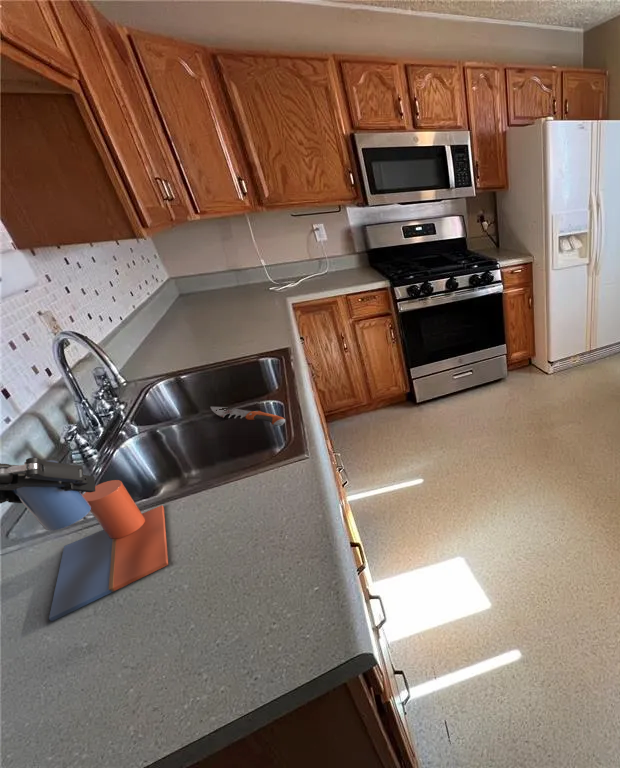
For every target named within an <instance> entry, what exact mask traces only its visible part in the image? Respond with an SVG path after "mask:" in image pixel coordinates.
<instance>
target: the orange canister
mask: <svg viewBox="0 0 620 768" xmlns="http://www.w3.org/2000/svg"><path fill="white" fill-rule="evenodd" d="M82 495H83V496H84V498H85V499H86V500H87V502H88V503H89V504H90V506H91V510H90V511H89V513H91V515H92V516H93V517H94V518H95V520H96V522H97V523H98V524H99V526H100V527H101V528H102V530H104V531H105V532H106V534H107V535H108V537H109V538H112V539H117V538H121V537H125V536H127V535H129V534H131V533H133V532H135V531H136V530H138V529H139V528H140V527H141V526H142V525H143V524H144V522H145V518H144V516H143V515H142V511H141V510H140V508H139V507H138V505H137V504H136V502H135V500H134V498H133V497H132V495H131V494H130V493H129V491H128V489H127V488H126V486H125V485H124V483H123V482H122V480H119V479H113V480H112V479H111V480H108V481H104V482H101V483H98V484H96V485H95V491H94V492H83V494H82Z"/></svg>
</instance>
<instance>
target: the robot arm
mask: <svg viewBox="0 0 620 768" xmlns="http://www.w3.org/2000/svg"><path fill="white" fill-rule="evenodd" d="M95 486H96V478H95V476H94V475H88V474H84V466H82V465H75V464H70V463H69V464H68V463H62V462H58V463H55V462H49V460H43V459H40V458H39V457H29V458H26V459H25V461H24V464H9V463H0V504H4V503H6V502H8V503H14V504H23V503H22V502H21V500H20V499H19V498H18V497H17V496H16V495H15V493H14V492H13V491H12V490H15V489H18V488H21V487H61V489H63V490H64V491H70V490H72V491H80V492H82V493H85V492H94V491H95Z"/></svg>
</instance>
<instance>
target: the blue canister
mask: <svg viewBox="0 0 620 768" xmlns="http://www.w3.org/2000/svg"><path fill="white" fill-rule="evenodd" d="M48 461H49V462H55V463H59V461H57V460H53V459H51V460H48ZM12 491H13V492H14V493H15V495H16V496H17V497H18V498H19V499H20V500H21V502H22V503H21V504H22V505H24V506H25V508H26V509H27V510H28V511H29V512H30V513H31V515H32V516H33V517H34V518H35V520H36V521H38V523H39V524H40V525H41V526H42V528H43V529H44V530H46V531H58V530H61V529H65V528H67V527H70V526H71V525H73V524H75V523H77V522H79V521H80V520H82V519H84V518H85V517H86V516H87V515H88V514H89V513H90V510H91V506H90V504H89V503H88V502H87V500H86V499H85V498H84V496H83V495H84V494H83V493H81V491H72V490H70V491H64V490H63V489H61V487H21V488H18V489H15V490H12Z"/></svg>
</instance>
